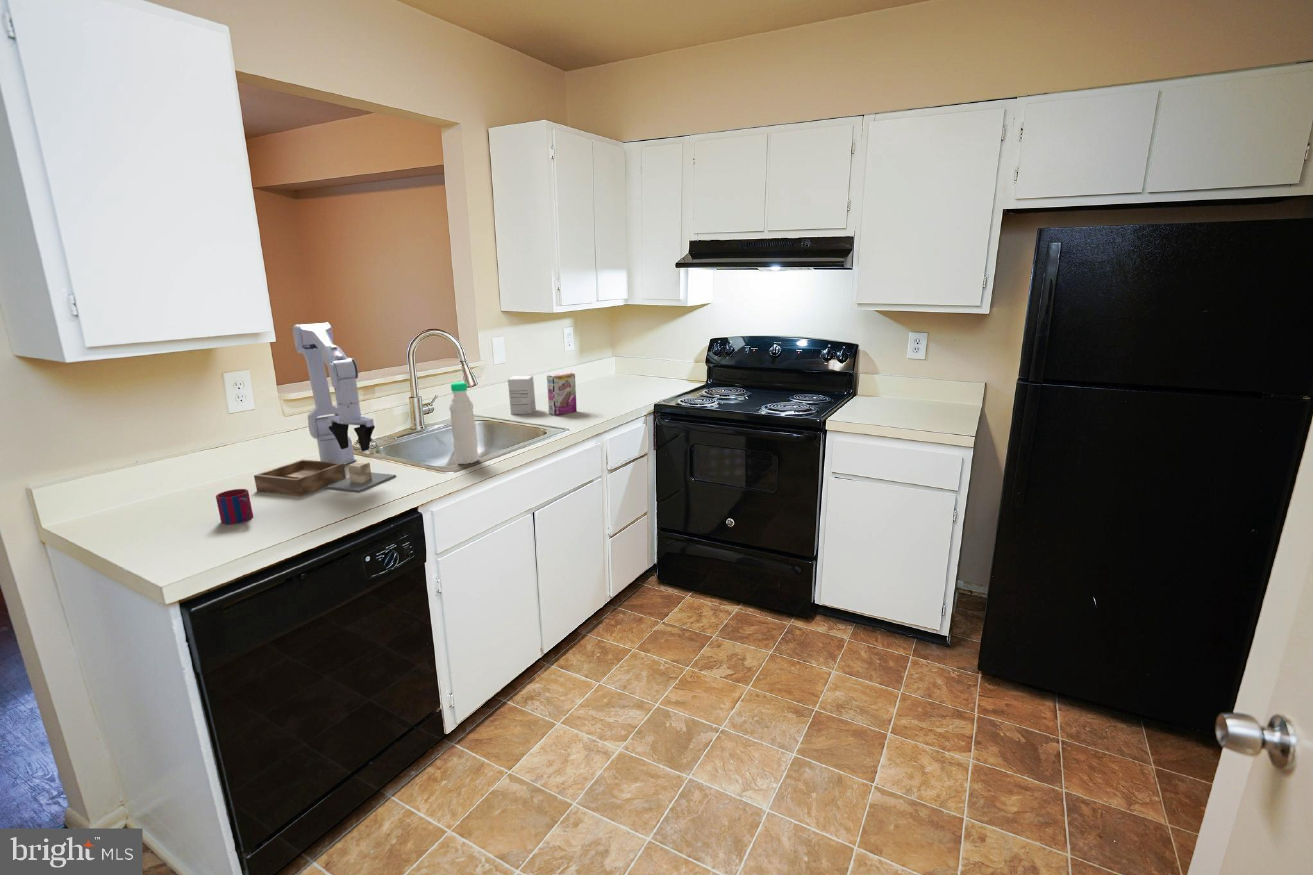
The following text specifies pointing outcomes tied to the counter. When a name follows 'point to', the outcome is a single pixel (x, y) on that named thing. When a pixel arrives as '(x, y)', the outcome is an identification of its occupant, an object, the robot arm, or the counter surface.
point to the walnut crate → (300, 477)
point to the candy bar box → (561, 393)
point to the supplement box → (521, 395)
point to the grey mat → (359, 487)
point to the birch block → (359, 472)
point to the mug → (234, 506)
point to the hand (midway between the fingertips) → (355, 449)
